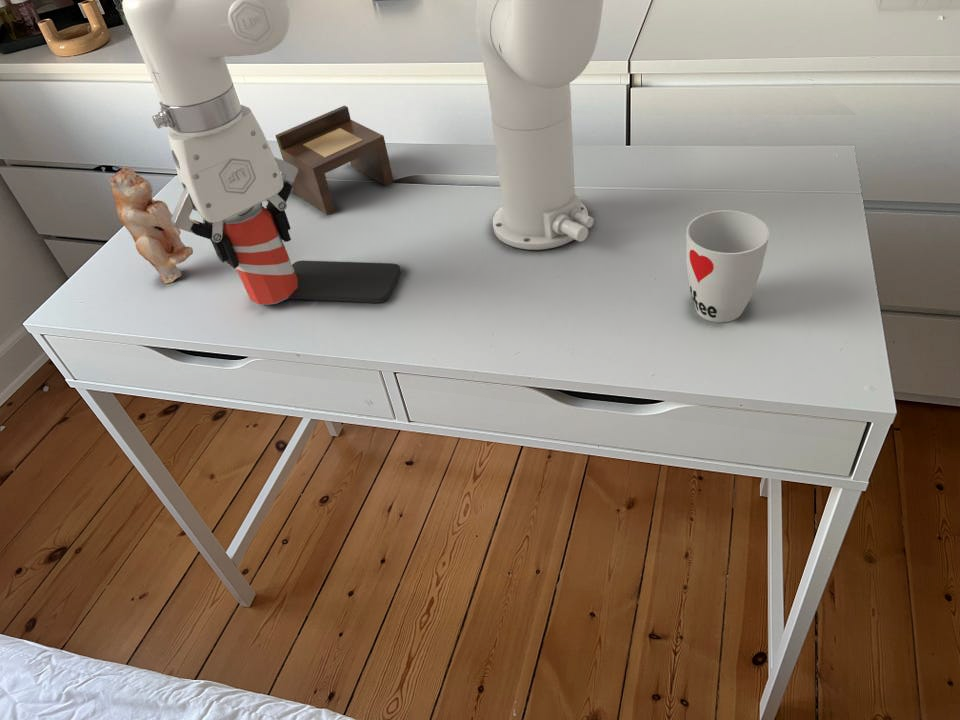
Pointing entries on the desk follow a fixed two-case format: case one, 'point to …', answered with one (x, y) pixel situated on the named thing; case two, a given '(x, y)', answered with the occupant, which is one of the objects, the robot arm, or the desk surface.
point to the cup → (724, 262)
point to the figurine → (149, 223)
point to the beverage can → (260, 255)
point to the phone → (345, 281)
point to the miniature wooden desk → (332, 154)
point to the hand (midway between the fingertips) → (257, 249)
